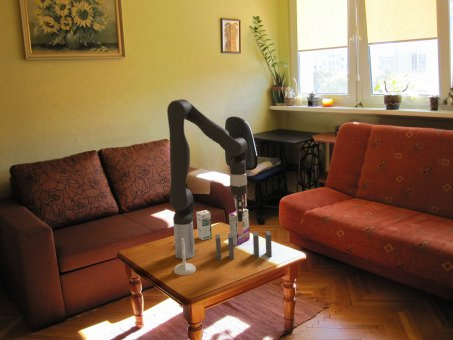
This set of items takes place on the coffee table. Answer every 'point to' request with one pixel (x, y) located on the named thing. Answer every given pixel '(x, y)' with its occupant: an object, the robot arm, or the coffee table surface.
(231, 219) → the candy bar box
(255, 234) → the domino
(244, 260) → the coffee table surface
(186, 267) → the white paper towel holder
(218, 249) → the domino
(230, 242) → the domino
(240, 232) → the domino
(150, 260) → the coffee table surface
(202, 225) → the syrup box
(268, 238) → the domino
